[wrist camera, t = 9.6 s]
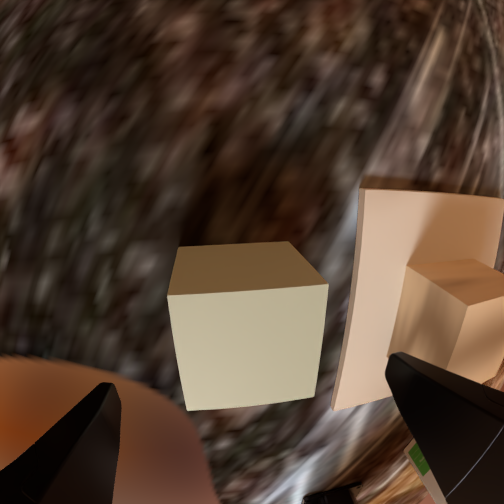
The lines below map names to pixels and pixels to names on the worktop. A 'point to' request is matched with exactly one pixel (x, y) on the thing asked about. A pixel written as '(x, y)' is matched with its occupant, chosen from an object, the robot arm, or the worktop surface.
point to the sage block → (246, 324)
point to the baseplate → (402, 271)
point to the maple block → (452, 317)
